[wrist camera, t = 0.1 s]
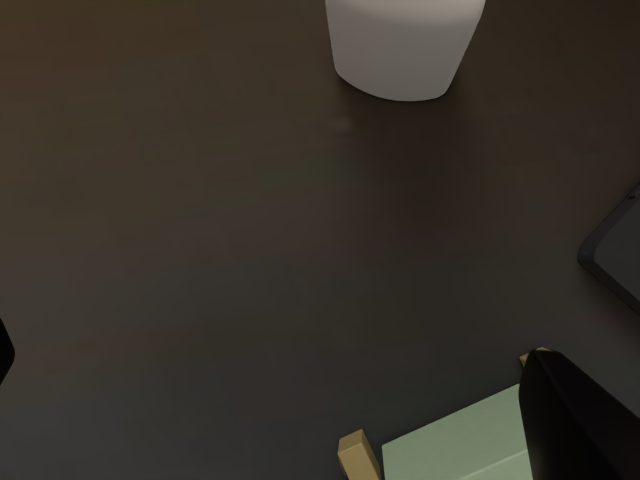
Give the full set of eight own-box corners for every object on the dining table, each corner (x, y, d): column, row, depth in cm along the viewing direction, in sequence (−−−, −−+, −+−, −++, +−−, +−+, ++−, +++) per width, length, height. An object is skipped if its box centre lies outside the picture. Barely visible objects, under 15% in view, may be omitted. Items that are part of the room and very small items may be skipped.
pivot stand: (569, 383, 21) (588, 394, 20) (351, 481, 22) (350, 499, 20) (548, 343, 22) (565, 350, 20) (333, 441, 22) (330, 456, 20)
